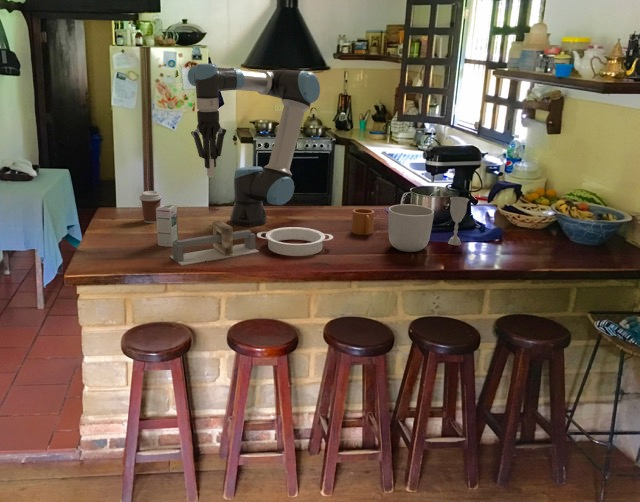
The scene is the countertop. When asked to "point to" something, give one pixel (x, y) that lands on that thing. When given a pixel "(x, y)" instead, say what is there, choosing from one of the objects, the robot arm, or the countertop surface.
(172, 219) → the syrup box
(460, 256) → the countertop surface
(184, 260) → the rail
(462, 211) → the chalice
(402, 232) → the planter
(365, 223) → the mug
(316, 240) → the pot
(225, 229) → the tan flat block
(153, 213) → the coffee cup
